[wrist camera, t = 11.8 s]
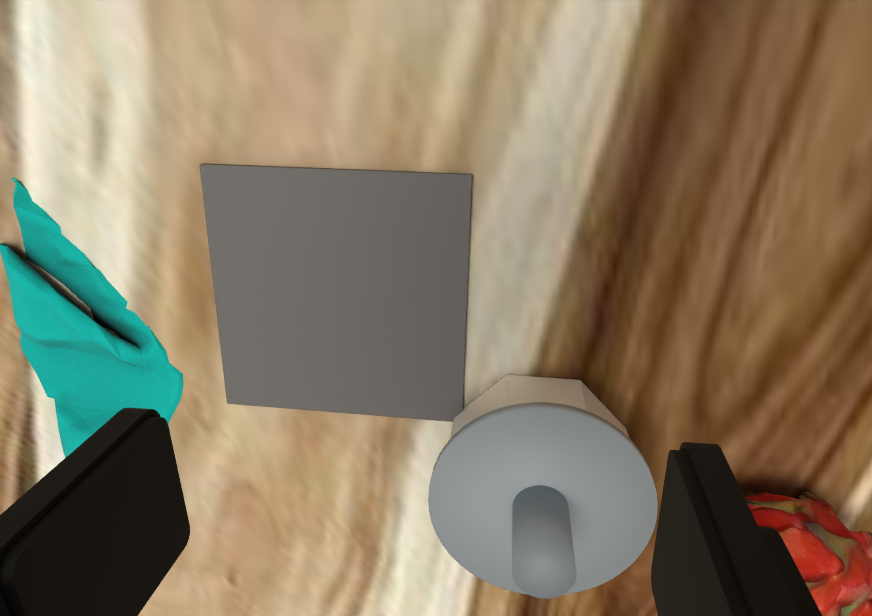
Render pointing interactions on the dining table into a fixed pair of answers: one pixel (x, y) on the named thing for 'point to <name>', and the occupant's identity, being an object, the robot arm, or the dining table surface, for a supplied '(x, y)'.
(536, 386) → the bowl
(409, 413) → the mat
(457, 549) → the lid
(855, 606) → the dragon fruit
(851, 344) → the dining table surface
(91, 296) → the cloth
